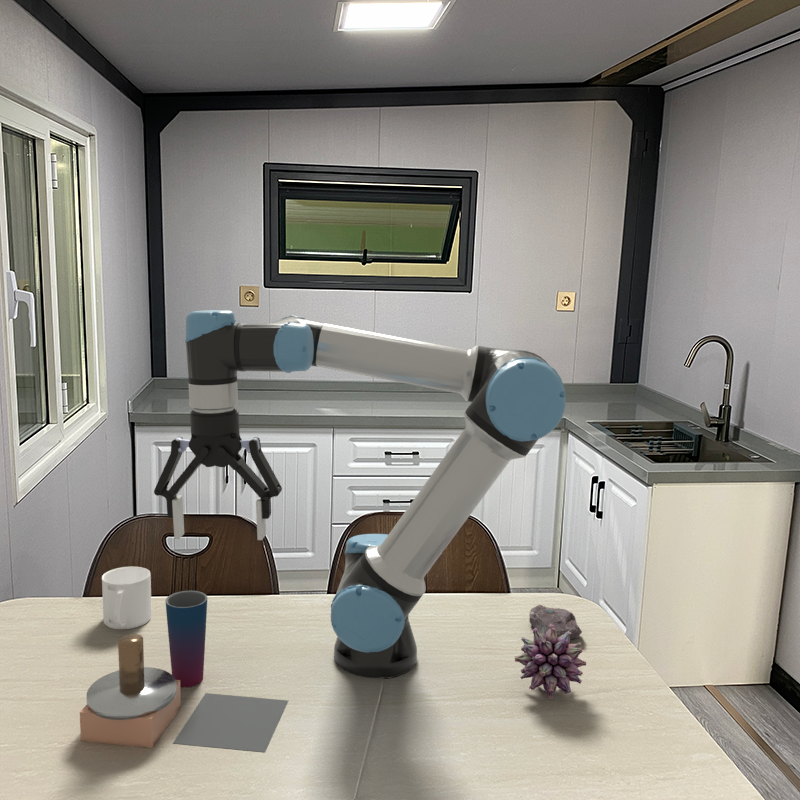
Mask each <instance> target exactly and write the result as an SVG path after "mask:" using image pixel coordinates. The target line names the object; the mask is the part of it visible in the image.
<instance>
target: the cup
mask: <svg viewBox="0 0 800 800" xmlns="http://www.w3.org/2000/svg"><path fill="white" fill-rule="evenodd" d="M164 602H165V612H166V621H167V622H166V623H167V635H168V643H169V644H168V645H169V647H168V648H169V655H170V667H171V675H173V677H174V678H175V680H180V688H192V687H195V686H198V685H200V684H201V683H202V682H203V680H204V671H205V668H204V667H205V653H206V652H205V651H206V634H207V630H206V629H207V615H208V612H207V611H208V596H207V594H206V593H204V592H201V591H199V590H183V591H178V592H174V593H172V594H170V595H169V596H167V597H166V598H165V601H164Z"/></svg>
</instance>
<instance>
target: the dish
mask: <svg viewBox="0 0 800 800" xmlns="http://www.w3.org/2000/svg"><path fill="white" fill-rule="evenodd" d="M181 696H182V695H181V687H180V680H176V695H175V697H174V699H173V700H172V701H171V703H170V704H168V705H167V706H166V707H164V708H163V709H161V710H159V711H157V712H155V713H153V714H150V715H147V716H144V717H140V718H135V719H127V720H112V719H106V718H102V717H99V716H97V715H95V714H93V713H92V712H91V711H90V710H89V709H88V707H87V704H86V705H85V706H84V707H83V708H82V709H81V710H80V711H79V724H80V728H79V729H80V731H79V732H80V741H81V742H86V743H95V744H96V743H99V744H108V745H116V746H128V747H129V746H130V747H139V748H146V749H147V748H149V749H153V748H154V746H155V745H156V743H157V742H158V741H159V740H160V738H161V736H162V735H163V733H164V732H165V730H166V729H167V727H168V726H169V725H170V724H171V722H172V720H173V719H174V717H175V716H176V714H178V711H179V710H180V709H181V707H182V706H181V698H182V697H181Z"/></svg>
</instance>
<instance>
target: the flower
mask: <svg viewBox="0 0 800 800" xmlns="http://www.w3.org/2000/svg"><path fill="white" fill-rule="evenodd" d="M532 633H533V640H532V639H528V638H525V637H523V636H521V639H520V640H521V641H522V642H523V645H522V646H521V648H520V651H522V652H523V653H522V654H520V655H514V660H513V661H514V662H517V663H519V664H521V665H523V666H524V667H523V668H522V669H520V672H521V674H522V675H521V676H520V679H521V680H523V679H527V678H528V679H529V678H531V682H530V686H529V687H528V689H529V690H531V691H533V690H535V689H536V688H539V687H541V686H543V689H544V693H545V694H546V698H547V699H548V700H549V699H551V700H552V699H553V695H554V693H555V691H556V690H557V688H558V689H559V690H561V691H563V693H564V694H566V695H567V694H569V693H571V692H572V689H571V685H570V684H571V683H570V682H576V683H578V684H582V682H583V680H582V679H581V678H580V677H581V676H582V675H583V671H581V670H580V669H579V668H581V667H584V666H587V662H586V661H585V660H583V659H580V658H579V656H580V655H581V653H583V652H584V651H583V648H582V643H581V642H580V641H579V642H578V643H570V641H571V639H570V636H571V634H572V633H571V632H569V631H568V632H566V633H565V634H564V635H562V636H560V637H559V638H558V637H557V634H556V629H555V628H554V625H551V624H550V627H549V630H548V631H547V633H546V636H545V635H544V634H542V633H541V632H539V631H538V629H537V628H535V627H534V628H533V629H532Z"/></svg>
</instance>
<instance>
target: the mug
mask: <svg viewBox="0 0 800 800" xmlns="http://www.w3.org/2000/svg"><path fill="white" fill-rule="evenodd" d="M151 579H152V577H151V571H150V570H149V569H148V568H145V567H141V566H121V567H117V568H113V569H111V570H108V571H106V572H104V573H103V575H101V584H102V585H101V589H102V590H101V591H102V617H103V623H104V625H105V626H106V627H108V628H110V629H113V630H131V629H135V628H140V627H141V626H144V625H145V624H147V623H148V622H149V621H150V620H151V618H152V616H153V615H152V587H151V586H152V584H151V583H152V582H151Z"/></svg>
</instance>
